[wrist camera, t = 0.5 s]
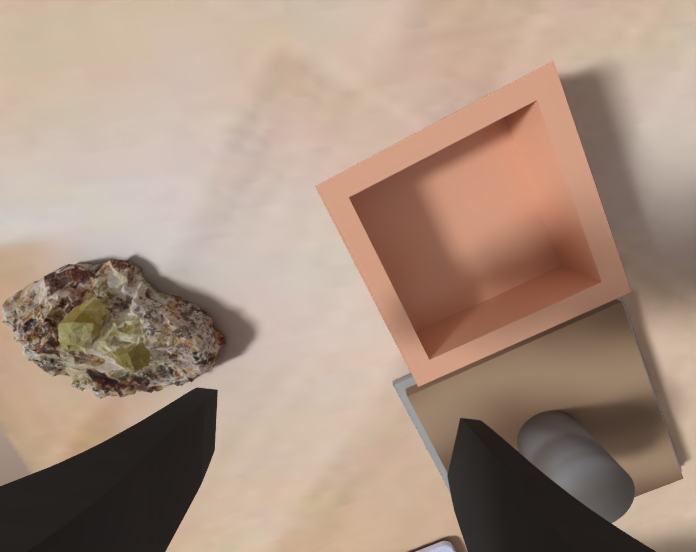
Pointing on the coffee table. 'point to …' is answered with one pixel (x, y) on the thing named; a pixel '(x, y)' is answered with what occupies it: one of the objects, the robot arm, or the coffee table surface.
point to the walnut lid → (564, 409)
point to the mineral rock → (111, 330)
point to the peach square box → (479, 228)
